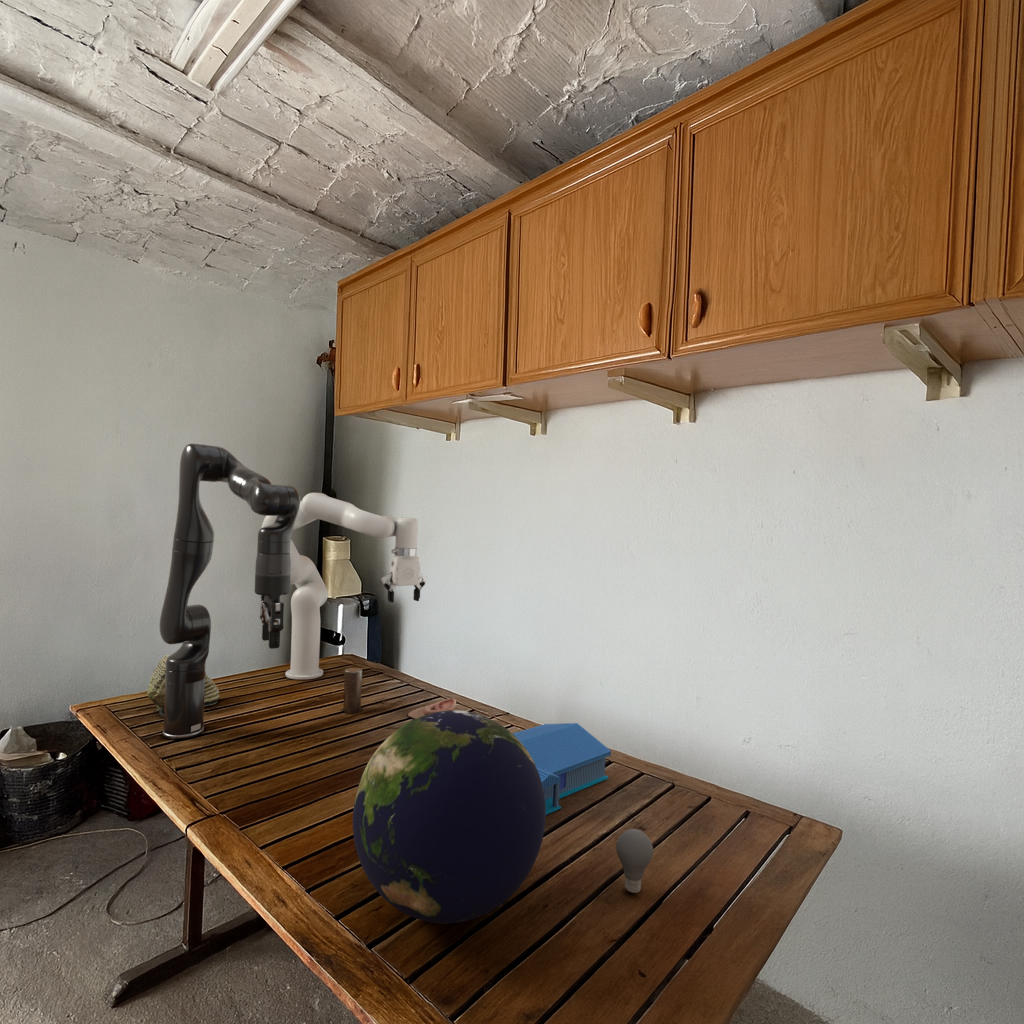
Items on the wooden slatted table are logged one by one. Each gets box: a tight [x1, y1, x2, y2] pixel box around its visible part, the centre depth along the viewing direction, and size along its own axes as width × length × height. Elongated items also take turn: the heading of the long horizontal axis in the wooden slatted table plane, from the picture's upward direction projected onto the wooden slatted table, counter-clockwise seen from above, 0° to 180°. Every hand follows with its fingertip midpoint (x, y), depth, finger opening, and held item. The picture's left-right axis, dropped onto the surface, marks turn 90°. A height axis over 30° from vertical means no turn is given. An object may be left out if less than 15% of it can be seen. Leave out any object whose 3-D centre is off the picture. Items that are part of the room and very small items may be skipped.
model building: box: [512, 722, 612, 816], centre depth 142 cm, size 39×24×10 cm, turn 132°
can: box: [342, 667, 363, 714], centre depth 188 cm, size 5×5×12 cm
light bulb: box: [615, 828, 654, 894], centre depth 106 cm, size 6×6×10 cm
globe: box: [352, 709, 547, 925], centre depth 100 cm, size 30×30×30 cm
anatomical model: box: [407, 698, 457, 719], centre depth 186 cm, size 13×4×12 cm
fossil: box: [147, 654, 221, 712], centre depth 185 cm, size 9×18×15 cm, turn 132°
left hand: (270, 644), depth 144 cm, fingers open, 8 cm apart
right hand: (403, 601), depth 222 cm, fingers open, 9 cm apart
